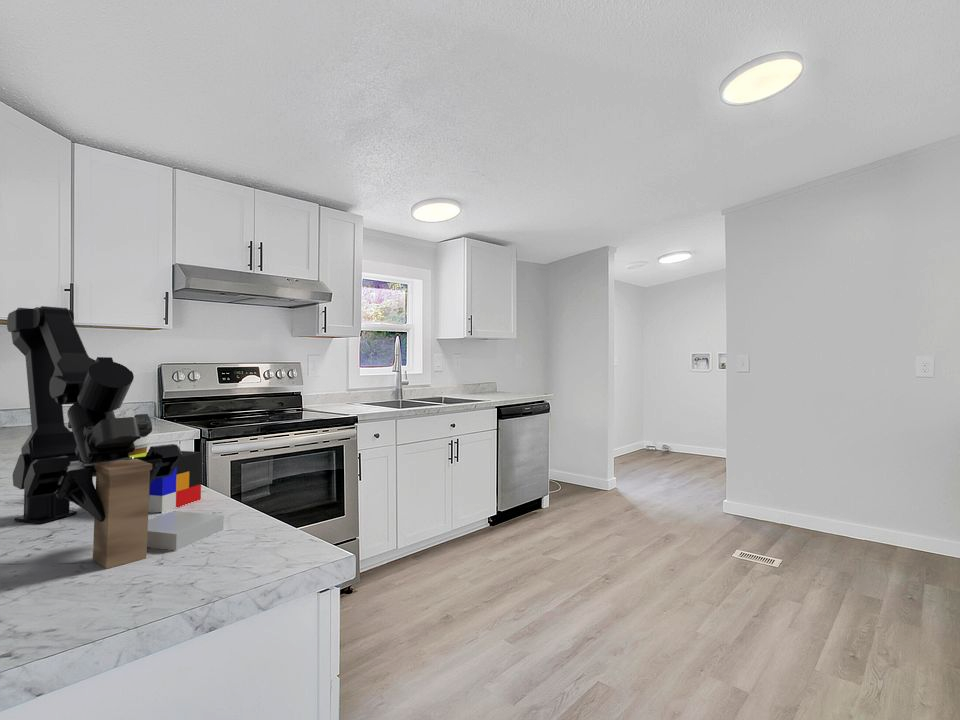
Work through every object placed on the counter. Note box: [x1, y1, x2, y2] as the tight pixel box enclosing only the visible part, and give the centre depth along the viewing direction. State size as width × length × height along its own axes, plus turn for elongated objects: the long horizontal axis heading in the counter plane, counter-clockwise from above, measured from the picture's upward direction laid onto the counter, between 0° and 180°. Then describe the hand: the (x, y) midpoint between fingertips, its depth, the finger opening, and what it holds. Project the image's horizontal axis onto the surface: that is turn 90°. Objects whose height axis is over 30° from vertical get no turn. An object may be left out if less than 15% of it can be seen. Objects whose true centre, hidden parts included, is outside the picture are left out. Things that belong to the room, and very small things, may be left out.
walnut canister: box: [92, 459, 152, 570], centre depth 74 cm, size 5×5×14 cm
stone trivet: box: [147, 510, 225, 551], centre depth 84 cm, size 10×10×3 cm
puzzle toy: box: [130, 450, 203, 513], centre depth 103 cm, size 10×10×10 cm
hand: (124, 515), depth 74 cm, fingers closed on walnut canister, 5 cm apart
